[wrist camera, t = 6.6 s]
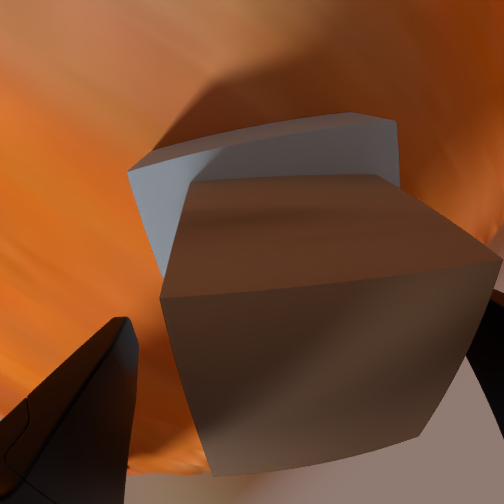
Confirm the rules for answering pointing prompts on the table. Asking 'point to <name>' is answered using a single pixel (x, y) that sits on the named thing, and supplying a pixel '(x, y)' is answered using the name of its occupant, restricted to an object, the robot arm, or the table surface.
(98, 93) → the table surface
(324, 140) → the plinth block
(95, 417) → the robot arm
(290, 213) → the walnut cube
